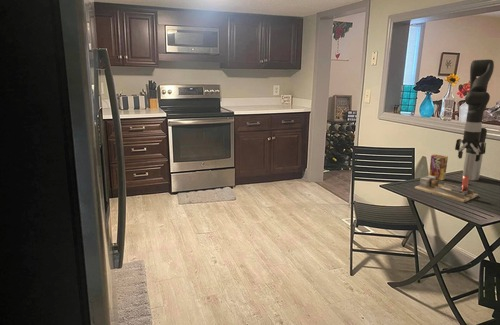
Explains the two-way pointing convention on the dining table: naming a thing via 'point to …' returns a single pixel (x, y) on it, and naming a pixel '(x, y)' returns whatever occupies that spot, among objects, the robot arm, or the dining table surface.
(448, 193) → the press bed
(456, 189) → the plate with copper rod
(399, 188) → the dining table surface
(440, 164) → the candy box
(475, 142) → the robot arm
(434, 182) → the nut
